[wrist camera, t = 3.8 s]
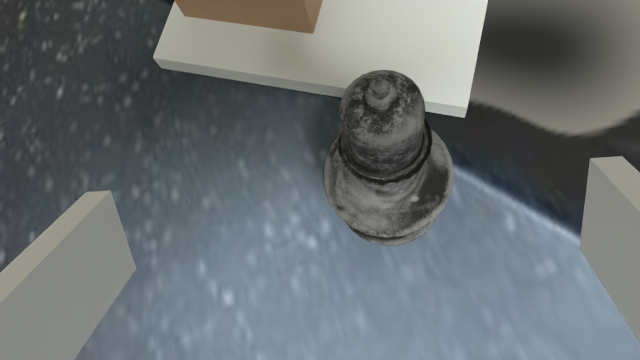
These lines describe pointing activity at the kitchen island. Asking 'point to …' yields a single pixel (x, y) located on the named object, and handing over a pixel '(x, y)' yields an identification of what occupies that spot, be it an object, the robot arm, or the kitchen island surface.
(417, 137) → the salt shaker
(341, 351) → the kitchen island surface
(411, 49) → the build board
